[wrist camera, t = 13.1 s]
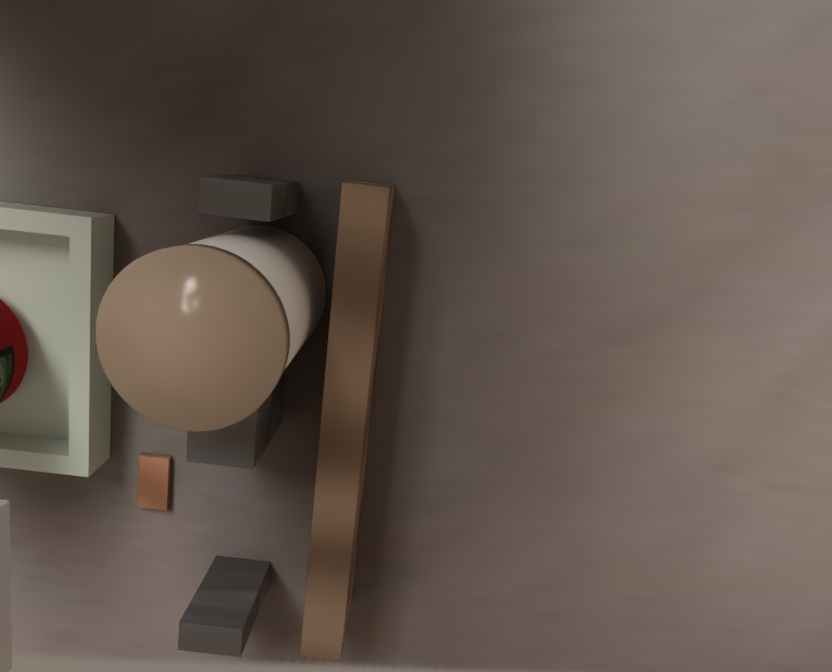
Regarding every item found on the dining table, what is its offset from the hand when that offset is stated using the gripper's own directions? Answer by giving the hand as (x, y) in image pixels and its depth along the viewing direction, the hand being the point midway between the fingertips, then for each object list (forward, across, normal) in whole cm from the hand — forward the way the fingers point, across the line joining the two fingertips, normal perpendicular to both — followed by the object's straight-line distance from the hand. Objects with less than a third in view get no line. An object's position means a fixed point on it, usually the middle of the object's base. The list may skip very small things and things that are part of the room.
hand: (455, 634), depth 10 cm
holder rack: (+27, -9, -6) cm, 29 cm away
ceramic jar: (+27, -9, 0) cm, 28 cm away
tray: (+27, -23, -4) cm, 35 cm away
